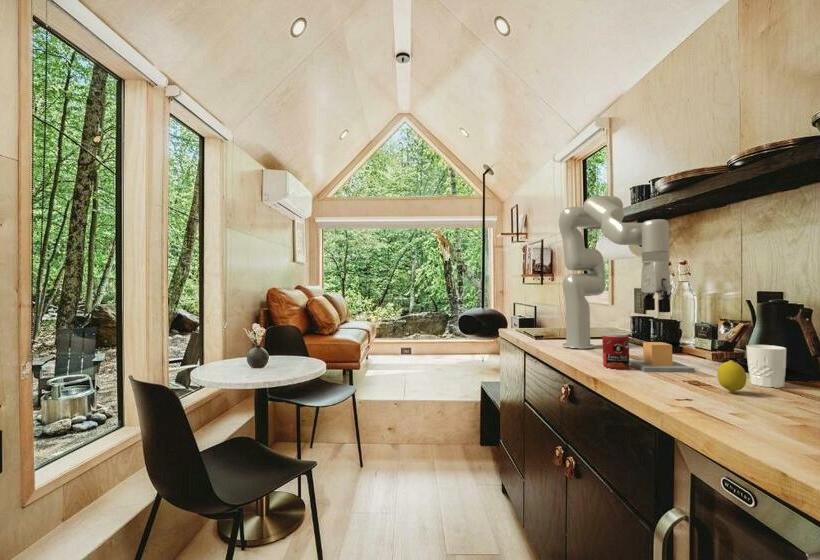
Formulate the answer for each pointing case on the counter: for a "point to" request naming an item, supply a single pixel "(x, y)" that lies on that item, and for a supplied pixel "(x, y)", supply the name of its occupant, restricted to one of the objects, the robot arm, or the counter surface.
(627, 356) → the canned food
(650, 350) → the tan block
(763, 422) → the counter surface
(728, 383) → the lemon
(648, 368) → the stub board
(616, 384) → the counter surface
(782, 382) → the white cup
